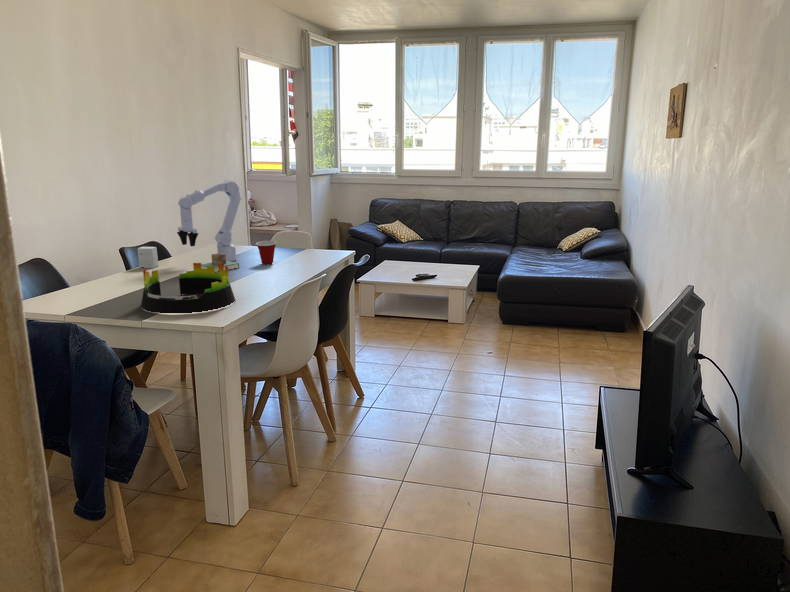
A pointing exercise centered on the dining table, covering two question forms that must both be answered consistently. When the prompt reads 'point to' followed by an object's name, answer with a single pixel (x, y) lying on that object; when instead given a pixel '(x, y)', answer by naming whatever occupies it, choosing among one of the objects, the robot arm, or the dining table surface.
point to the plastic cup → (266, 251)
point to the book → (228, 263)
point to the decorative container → (190, 291)
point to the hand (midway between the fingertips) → (188, 245)
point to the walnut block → (218, 258)
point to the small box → (147, 257)
